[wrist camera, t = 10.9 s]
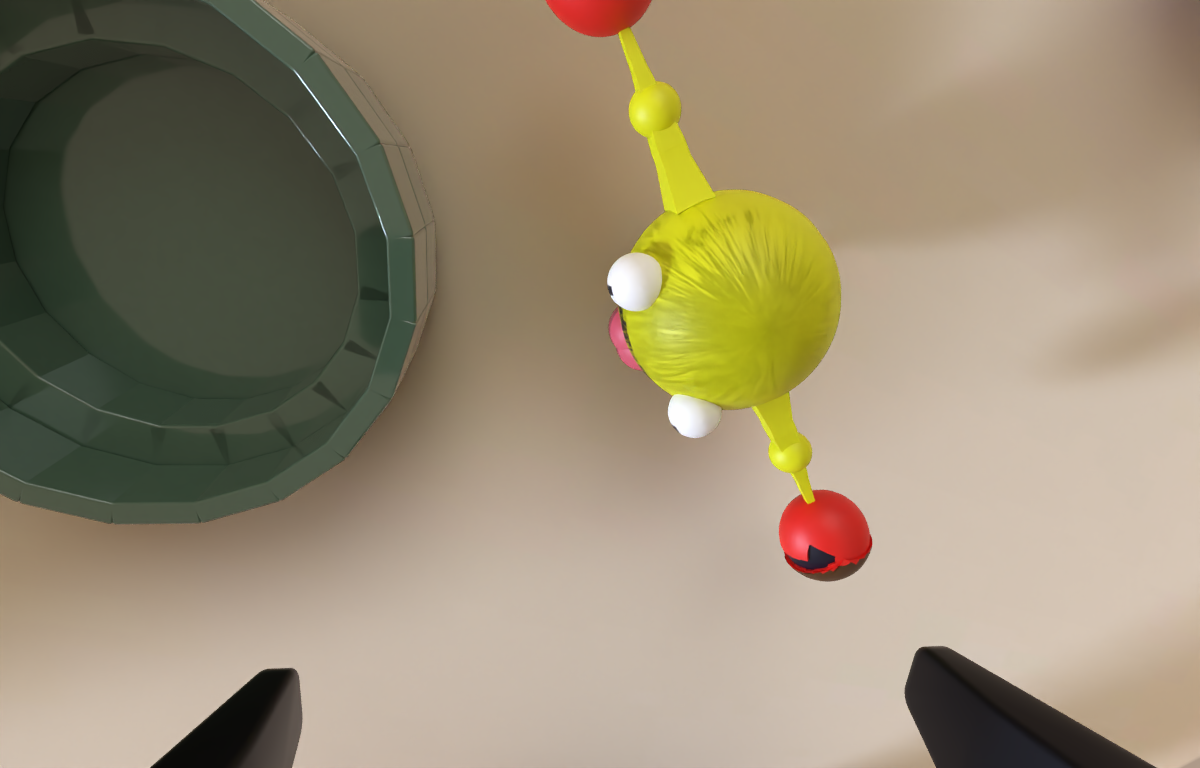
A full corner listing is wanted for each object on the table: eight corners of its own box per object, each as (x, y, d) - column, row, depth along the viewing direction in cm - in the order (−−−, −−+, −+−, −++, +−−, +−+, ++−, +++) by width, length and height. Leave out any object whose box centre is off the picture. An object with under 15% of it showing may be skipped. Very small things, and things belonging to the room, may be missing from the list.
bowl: (434, 11, 16) (407, -44, 12) (440, 445, 20) (422, 522, 16) (-124, -51, 14) (-398, -143, 10) (8, 442, 18) (-145, 528, 14)
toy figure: (446, 9, 16) (404, -93, 9) (641, -93, 16) (730, -265, 9) (703, 533, 22) (779, 680, 16) (842, 465, 22) (974, 586, 16)
